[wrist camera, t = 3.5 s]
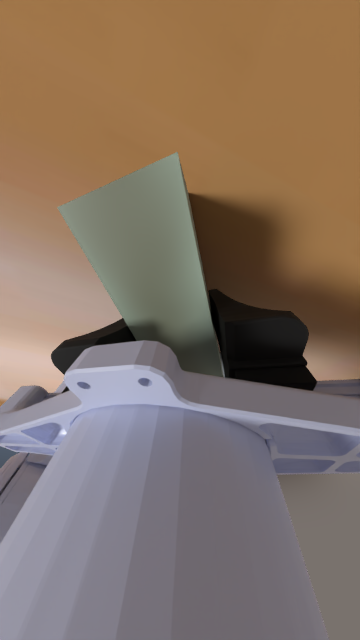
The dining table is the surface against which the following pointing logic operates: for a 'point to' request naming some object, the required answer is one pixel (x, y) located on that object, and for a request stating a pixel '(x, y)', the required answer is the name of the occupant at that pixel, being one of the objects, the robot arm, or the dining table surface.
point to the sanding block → (150, 260)
